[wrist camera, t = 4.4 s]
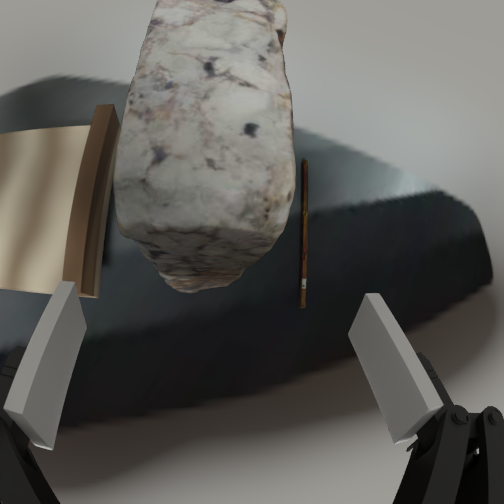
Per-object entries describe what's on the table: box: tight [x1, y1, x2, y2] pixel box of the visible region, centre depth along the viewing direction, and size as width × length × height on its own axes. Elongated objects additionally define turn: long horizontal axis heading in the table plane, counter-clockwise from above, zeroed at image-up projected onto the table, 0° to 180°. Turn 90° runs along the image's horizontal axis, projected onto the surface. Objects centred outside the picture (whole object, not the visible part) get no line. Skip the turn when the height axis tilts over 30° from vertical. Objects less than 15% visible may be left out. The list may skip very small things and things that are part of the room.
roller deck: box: [0, 104, 121, 298], centre depth 23 cm, size 14×15×8 cm
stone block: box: [113, 0, 296, 293], centre depth 19 cm, size 13×7×20 cm, turn 6°
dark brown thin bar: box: [298, 160, 308, 308], centre depth 30 cm, size 15×1×1 cm, turn 176°
